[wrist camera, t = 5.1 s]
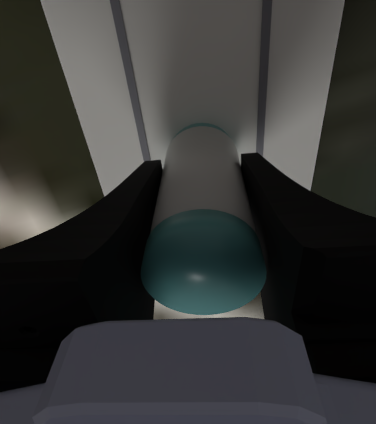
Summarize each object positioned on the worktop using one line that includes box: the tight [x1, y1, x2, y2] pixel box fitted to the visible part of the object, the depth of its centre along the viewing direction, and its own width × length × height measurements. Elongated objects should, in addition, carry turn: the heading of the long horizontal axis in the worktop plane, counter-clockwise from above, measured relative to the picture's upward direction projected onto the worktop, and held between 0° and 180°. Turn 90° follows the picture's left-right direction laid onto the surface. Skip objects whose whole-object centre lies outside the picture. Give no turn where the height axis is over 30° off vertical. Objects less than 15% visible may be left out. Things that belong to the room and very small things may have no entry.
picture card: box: [40, 0, 345, 196], centre depth 11 cm, size 16×10×1 cm, turn 6°
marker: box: [141, 123, 267, 315], centre depth 10 cm, size 3×3×7 cm
